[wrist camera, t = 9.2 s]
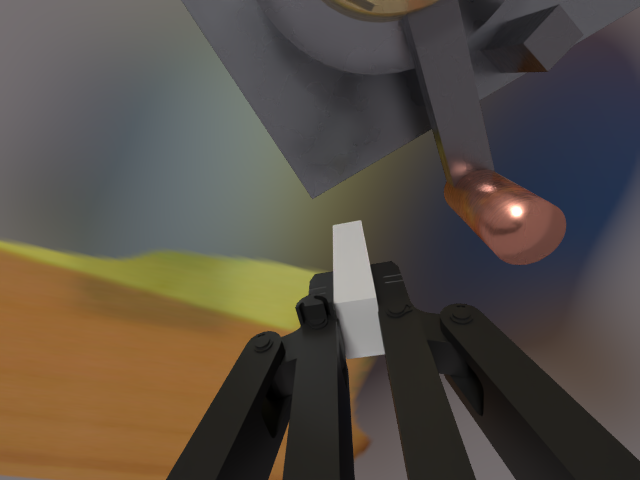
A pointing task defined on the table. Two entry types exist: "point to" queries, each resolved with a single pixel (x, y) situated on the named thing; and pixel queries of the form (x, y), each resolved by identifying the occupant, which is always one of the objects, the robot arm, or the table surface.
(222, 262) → the table surface
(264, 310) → the table surface
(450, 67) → the tan handled round piece
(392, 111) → the housing
